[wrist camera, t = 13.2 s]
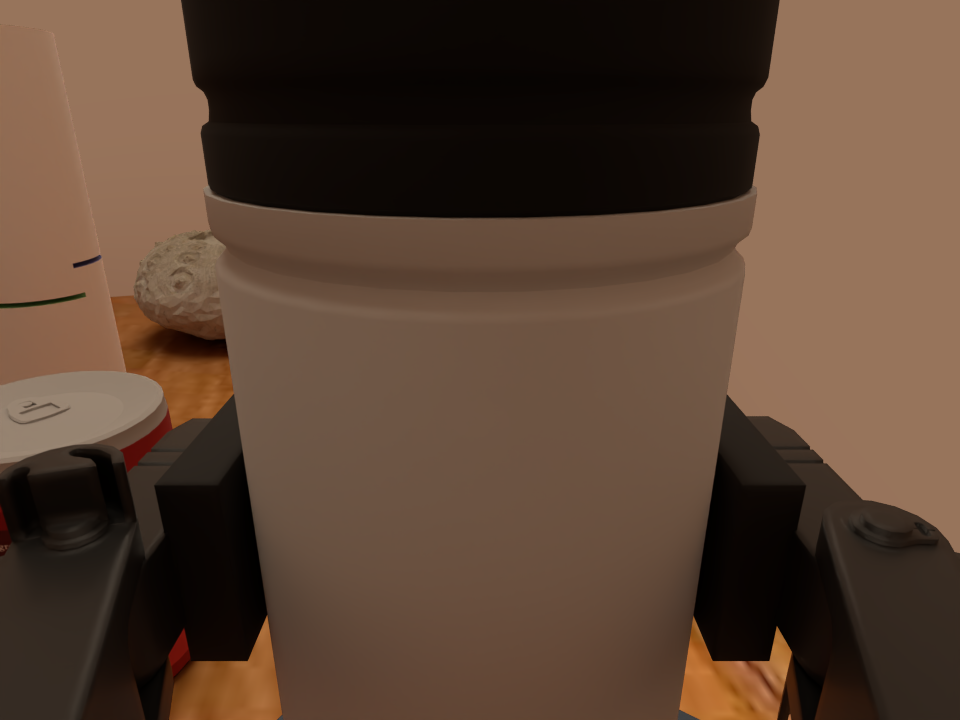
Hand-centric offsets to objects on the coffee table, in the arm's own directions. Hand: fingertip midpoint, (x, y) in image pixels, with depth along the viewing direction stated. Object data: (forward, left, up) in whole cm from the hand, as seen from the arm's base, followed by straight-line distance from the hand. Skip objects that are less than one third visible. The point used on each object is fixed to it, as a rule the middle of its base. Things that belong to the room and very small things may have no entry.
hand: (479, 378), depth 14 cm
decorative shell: (+28, +49, -16) cm, 59 cm away
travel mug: (-4, -3, -12) cm, 13 cm away
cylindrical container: (+6, +36, -16) cm, 40 cm away
